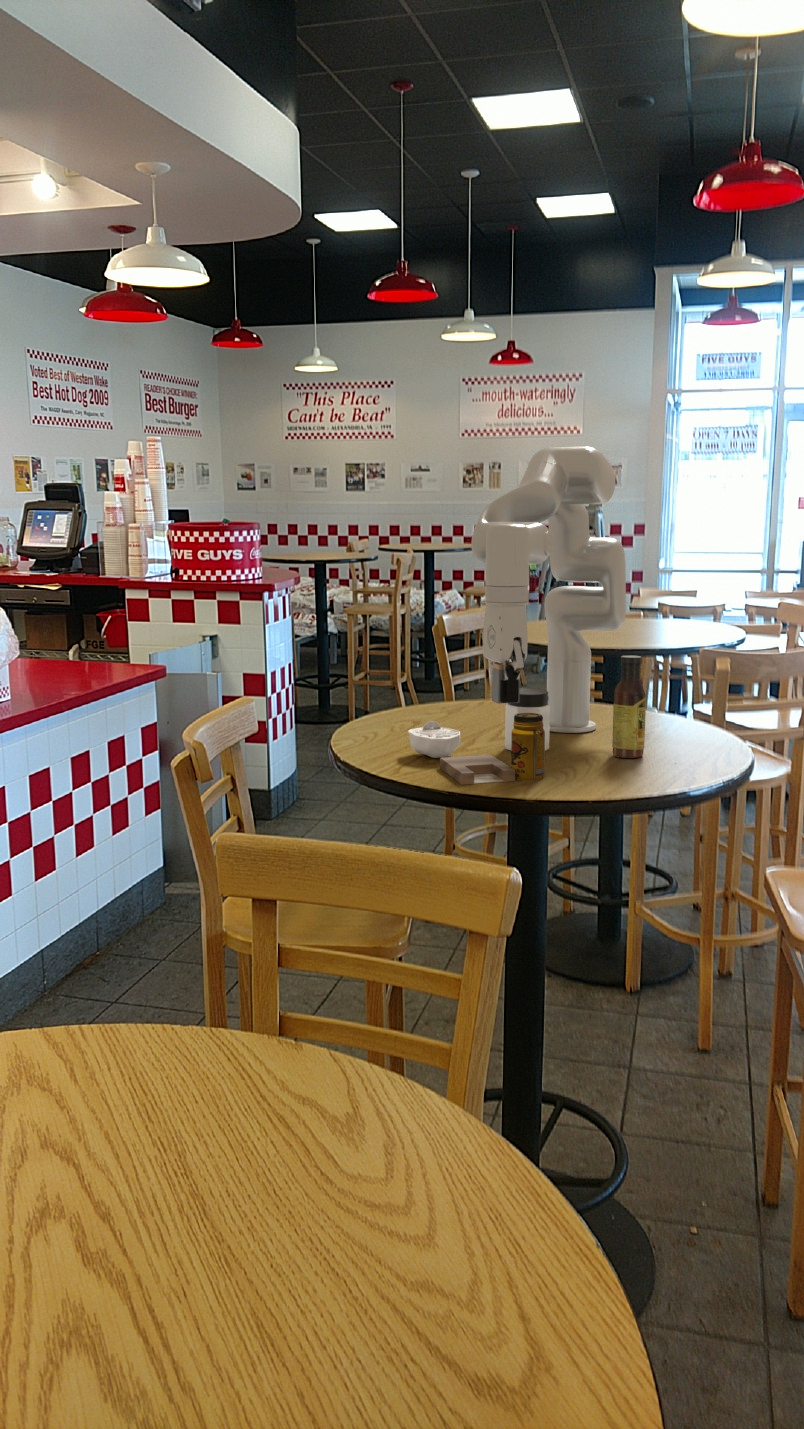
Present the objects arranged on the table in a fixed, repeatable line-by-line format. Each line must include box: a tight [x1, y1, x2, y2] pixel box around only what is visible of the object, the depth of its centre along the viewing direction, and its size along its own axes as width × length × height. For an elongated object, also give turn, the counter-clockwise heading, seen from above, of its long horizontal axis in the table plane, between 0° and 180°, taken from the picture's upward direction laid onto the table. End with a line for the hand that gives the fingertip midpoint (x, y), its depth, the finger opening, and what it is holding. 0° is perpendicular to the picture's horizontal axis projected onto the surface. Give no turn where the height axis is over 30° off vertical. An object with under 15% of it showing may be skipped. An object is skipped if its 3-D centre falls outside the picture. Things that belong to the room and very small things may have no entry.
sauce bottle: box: [611, 655, 647, 759], centre depth 210 cm, size 7×6×20 cm
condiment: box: [510, 713, 546, 782], centre depth 194 cm, size 7×8×12 cm
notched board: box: [439, 754, 516, 786], centre depth 196 cm, size 13×10×2 cm
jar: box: [504, 687, 550, 752], centre depth 216 cm, size 9×8×12 cm
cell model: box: [407, 720, 462, 759], centre depth 211 cm, size 10×12×7 cm
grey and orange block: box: [491, 663, 521, 704], centre depth 187 cm, size 3×4×7 cm
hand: (505, 699), depth 188 cm, fingers closed on grey and orange block, 3 cm apart
